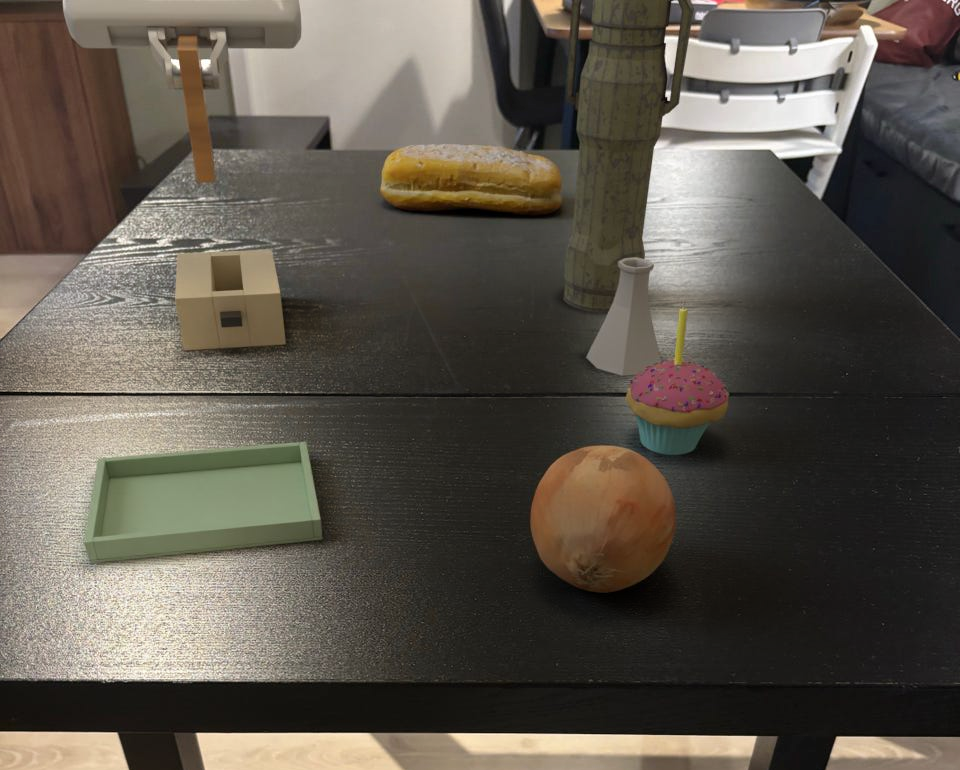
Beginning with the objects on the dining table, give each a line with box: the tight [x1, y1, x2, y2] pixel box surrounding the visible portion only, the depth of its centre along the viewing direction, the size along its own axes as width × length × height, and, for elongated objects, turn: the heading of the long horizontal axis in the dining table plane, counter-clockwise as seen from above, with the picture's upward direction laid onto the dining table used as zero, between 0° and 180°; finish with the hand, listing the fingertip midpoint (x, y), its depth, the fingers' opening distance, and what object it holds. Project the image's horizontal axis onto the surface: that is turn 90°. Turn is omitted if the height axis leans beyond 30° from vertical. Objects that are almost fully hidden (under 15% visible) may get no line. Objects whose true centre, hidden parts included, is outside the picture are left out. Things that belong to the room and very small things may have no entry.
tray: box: [83, 441, 324, 564], centre depth 71 cm, size 16×12×2 cm
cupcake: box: [625, 298, 730, 456], centre depth 78 cm, size 9×8×12 cm
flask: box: [585, 257, 662, 377], centre depth 92 cm, size 7×7×10 cm
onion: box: [529, 445, 677, 594], centre depth 63 cm, size 10×10×10 cm
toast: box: [176, 35, 216, 184], centre depth 83 cm, size 9×2×10 cm, turn 13°
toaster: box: [174, 249, 287, 352], centre depth 97 cm, size 16×10×6 cm, turn 13°
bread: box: [379, 143, 563, 216], centre depth 136 cm, size 13×26×8 cm, turn 91°
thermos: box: [562, 0, 695, 314], centre depth 98 cm, size 9×12×35 cm
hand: (194, 85), depth 83 cm, fingers closed on toast, 1 cm apart
